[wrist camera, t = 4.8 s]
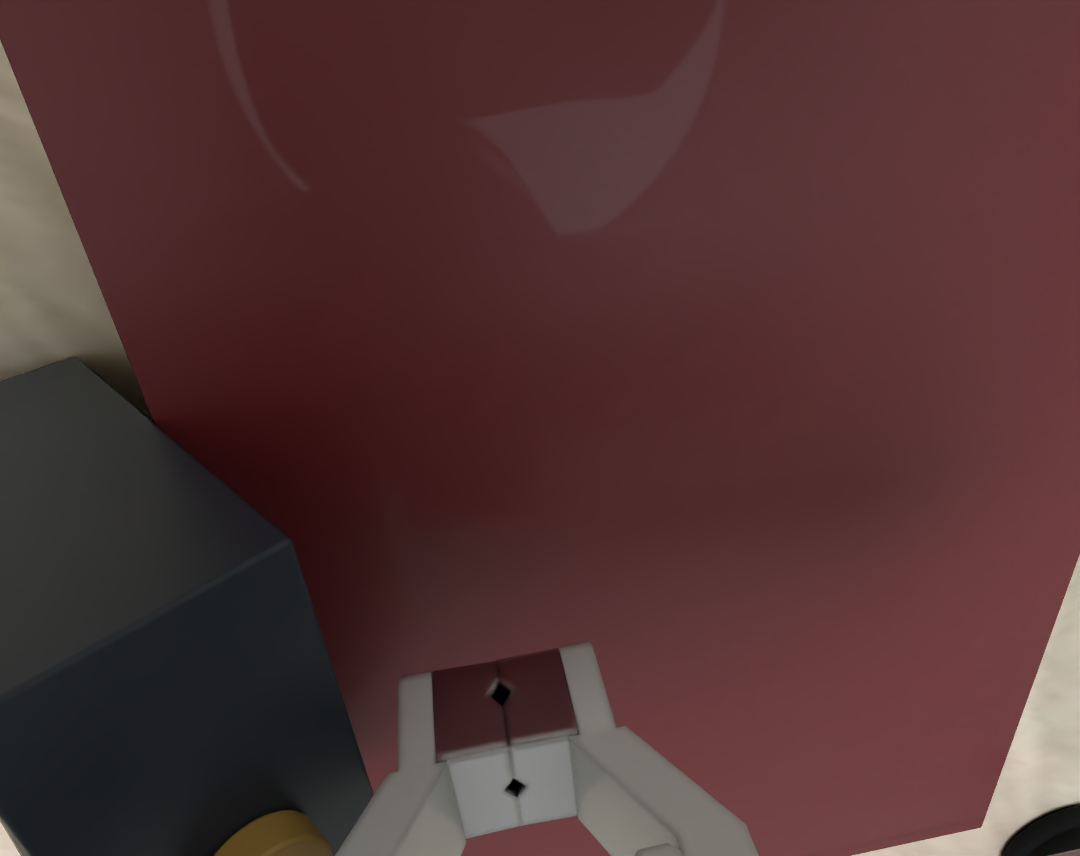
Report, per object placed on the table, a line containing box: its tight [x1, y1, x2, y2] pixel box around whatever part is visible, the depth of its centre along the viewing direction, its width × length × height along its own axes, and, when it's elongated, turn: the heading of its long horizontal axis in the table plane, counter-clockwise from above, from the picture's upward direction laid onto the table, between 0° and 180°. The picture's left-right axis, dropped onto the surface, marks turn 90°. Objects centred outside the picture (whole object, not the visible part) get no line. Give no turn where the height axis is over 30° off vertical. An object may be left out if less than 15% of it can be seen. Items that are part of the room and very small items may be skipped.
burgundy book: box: [0, 0, 1080, 856], centre depth 16 cm, size 24×17×3 cm
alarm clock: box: [0, 357, 374, 856], centre depth 13 cm, size 9×7×8 cm
